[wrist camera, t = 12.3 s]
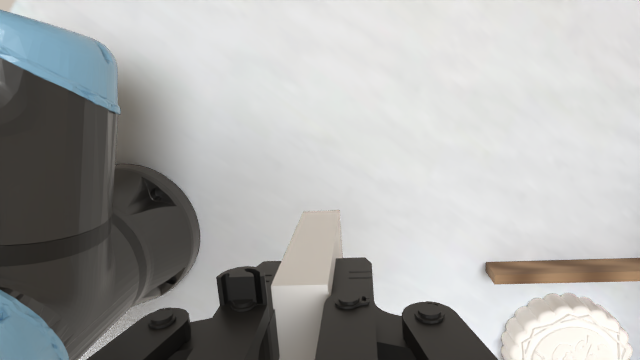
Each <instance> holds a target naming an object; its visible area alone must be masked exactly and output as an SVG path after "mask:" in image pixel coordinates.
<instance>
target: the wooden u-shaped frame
mask: <svg viewBox="0 0 640 360" xmlns="http://www.w3.org/2000/svg"><path fill="white" fill-rule="evenodd" d="M486 272H487V274H488V275H489V277H490V278H491V280H492V281H493V283H494V284H530V283H575V282H621V281H640V258H624V259H588V260H551V261H514V262H486Z"/></svg>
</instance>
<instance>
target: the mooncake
mask: <svg viewBox="0 0 640 360" xmlns="http://www.w3.org/2000/svg"><path fill="white" fill-rule="evenodd" d="M506 329H507V330H506V331H505V332H504V333H503V334H502V336H501V340H502V343H503V346H502V348H501V353H502V355H503V357H504V359H505V360H630V359H629V358H630V356H631V355H632V352H633V349H632V347H631V345H630V344H629V343H628V339H629V337H628V334H627V332H626V331H625V330H624V329H623V328H622V327H621V326H620V325H619V322H618V321H617V320H616V319H615V318H614V317H613V316H612V315H611V314H610V313H609V312H608V311H607V310H605V309H604V308H603V307H602V306H600V305H597V304H595V303H594V302H593V301H592V300H591V299H589V298H587V297H579V298H578V297H577V296H576V295H574V294H572V293H565V294H562V295H561V296H559V295H558V294H553V293H552V294H548V295H546V296H545V297H544V298H543V299H541V298H535V299H532V300H531V301H530V302H529V303H528V306H523V307H520V308H518V309H517V311H516V312H515V317H513V318H511V319H509V320H508V321H507V323H506Z"/></svg>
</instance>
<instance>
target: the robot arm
mask: <svg viewBox="0 0 640 360" xmlns="http://www.w3.org/2000/svg"><path fill="white" fill-rule="evenodd" d="M120 113H121V110H120V107H119V106H118V70H117V63H116V60H115V58H114V56H113V55H112V53H111V52H110V50H109V49H108V48H107V47H106V46H105V45H103V44H102V43H100V42H99V41H97V40H95V39H92V38H90V37H87V36H84V35H81V34H78V33H75V32H72V31H69V30H66V29H63V28H60V27H57V26H54V25H50V24H47V23H44V22H41V21H37V20H34V19H31V18H27V17H24V16H20V15H17V14H14V13H10V12H6V11H3V10H0V360H78V359H79V358H80V357H81V356H82V355H83V354H84V353H85V352H86V351H87V350H88V349H89V348H90V347H91V346H92V345H93V344H94V343H95V342H96V341H97V340H98V339H99V338H100V337H101V336H102V335H103V334H104V333H105V332H106V331H107V330H108V329H109V328H110V327H111V326H112V325H113V324H114V323H115V322H116V321H117V320H118V319H119V318H120V317H121V316H122V315H123V314H124V313H125V312H126V311H127V310H128V309H129V308H130V307H132V306H135V305H138V304H141V303H143V302H146V301H149V300H152V299H154V298H157V297H159V296H161V295H163V294H165V293H167V292H168V291H170V290H171V289H172V288H174V287H175V286H176V285H177V284H178V283H179V282H180V281H181V280H182V279H183V277H184V276H185V275H186V274H187V273H188V272H189V270H190V269H191V267H192V266H193V264H194V262H195V259H196V257H197V254H198V250H199V244H200V231H199V224H198V220H197V217H196V214H195V211H194V209H193V207H192V205H191V203H190V201H189V200H188V198H187V197H186V195H185V194H184V193H183V192H182V190H181V189H180V188H179V187H178V186H177V185H176V184H175V183H173V182H172V181H171V180H170V179H168V178H167V177H165V176H164V175H162V174H161V173H159V172H157V171H155V170H152V169H150V168H147V167H143V166H139V165H132V164H119V165H115V155H116V139H117V124H118V114H119V115H120ZM216 279H217V286H218V293H219V301H220V306H219V308H218V310H217V311H216V313H215V314H214V316H213V318H209V319H205V320H200V321H195V322H190V320H189V313H188V312H187V311H186V310H183V309H180V308H165V309H164V308H163V309H159V310H157V311H155V312H153V313H150V314H148V315H146V316H145V317H143V318H141V319H140V320H139V321H137V322H136V323H135V324H133V325H132V326H131V327H129V328H128V329H127V330H125V331H124V332H123V333H121V334H120V335H119V336H117V337H116V338H115V339H113V340H112V341H111V342H109V343H108V344H107V345H105V346H104V347H103V348H101V349H100V350H99V351H97V352H96V353H95V354H93V355H92V356H91V357H89V358H88V359H87V360H498V359H497V358H496V357H495V356H494V355H493V353H492V352H491V351H490V350H489V349H488V348H487V347H486V346H485V344H484V343H483V342H482V341H481V340H480V339H479V338H478V337H477V335H476V334H475V333H474V332H473V331H472V330H471V329H470V328H469V327H468V325H467V324H466V323H465V322H464V321H463V320H462V319H461V318H460V316H459V315H458V314H457V313H456V312H455V311H454V310H452V309H451V308H450V307H448V306H445V305H443V304H440V303H436V302H429V301H427V302H419V303H415V304H411V305H409V306H408V307H406V308H405V309H404V310H403V312H402V316H399V315H394V314H390V313H387V312H385V311H382V310H381V309H379V308H378V307H377V306H376V305H375V302H374V295H373V279H372V264H371V263H370V262H369V261H368V260H367V259H366V258H343V256H342V240H341V224H340V210H332V211H308V212H303V214H302V216H301V218H300V221H299V223H298V225H297V227H296V230H295V232H294V234H293V237H292V239H291V241H290V243H289V246H288V248H287V250H286V252H285V255H284V257H283V259H282V261H266V262H262V263H261V264H260V265H258V266H257V267H248V266H246V267H237V268H233V269H230V270H227V271H225V272H223V273H221V274H220V275H219V276H217V277H216Z"/></svg>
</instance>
